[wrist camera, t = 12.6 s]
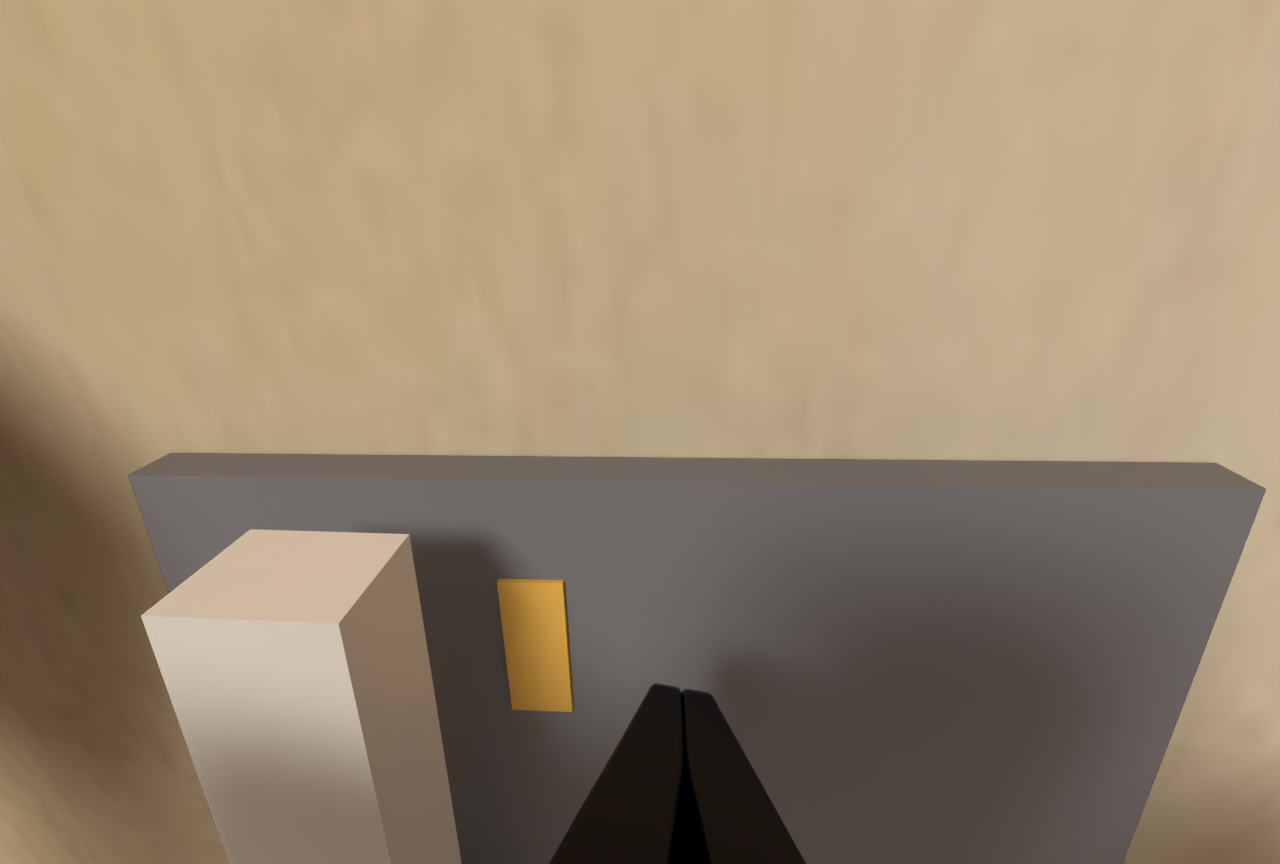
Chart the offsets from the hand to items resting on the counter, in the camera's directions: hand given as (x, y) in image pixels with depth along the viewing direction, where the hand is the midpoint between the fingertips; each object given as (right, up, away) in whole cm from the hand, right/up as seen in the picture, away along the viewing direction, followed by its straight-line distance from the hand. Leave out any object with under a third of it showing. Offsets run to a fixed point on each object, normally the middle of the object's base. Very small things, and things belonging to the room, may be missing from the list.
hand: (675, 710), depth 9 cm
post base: (0, -5, +6) cm, 8 cm away
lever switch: (-5, -6, +4) cm, 8 cm away
